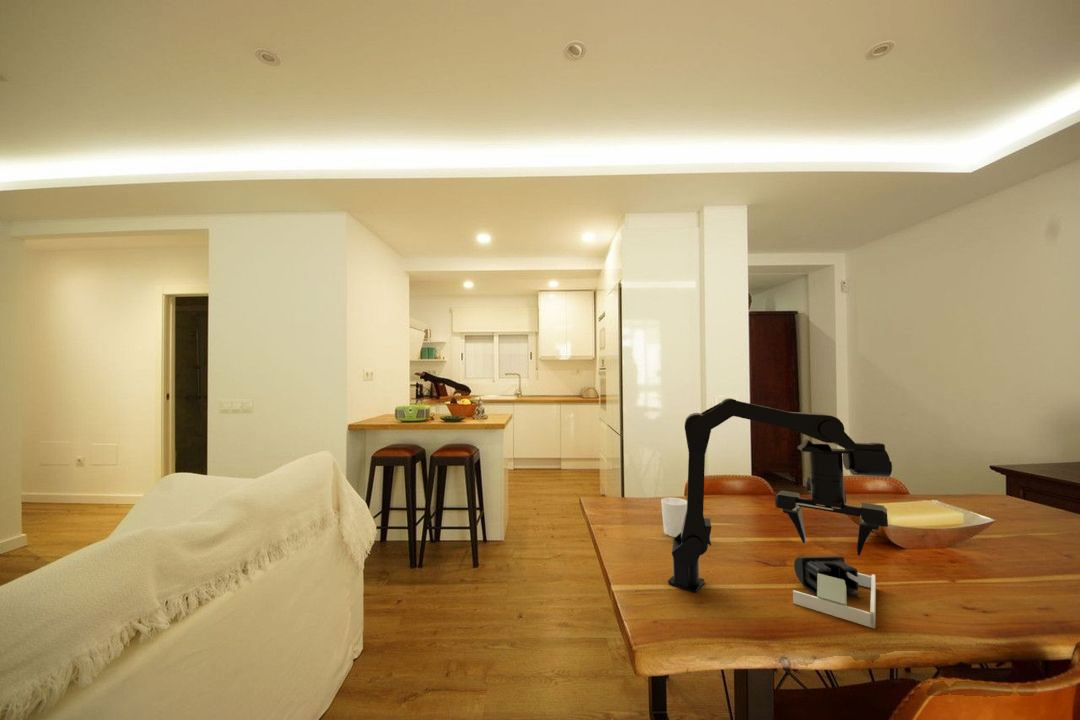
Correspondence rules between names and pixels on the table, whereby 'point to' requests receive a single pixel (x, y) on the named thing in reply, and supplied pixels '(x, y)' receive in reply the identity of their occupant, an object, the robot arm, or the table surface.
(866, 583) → the white u-shaped frame
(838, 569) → the end cap
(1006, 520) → the table surface
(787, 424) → the robot arm
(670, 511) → the white cup
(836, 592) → the block
